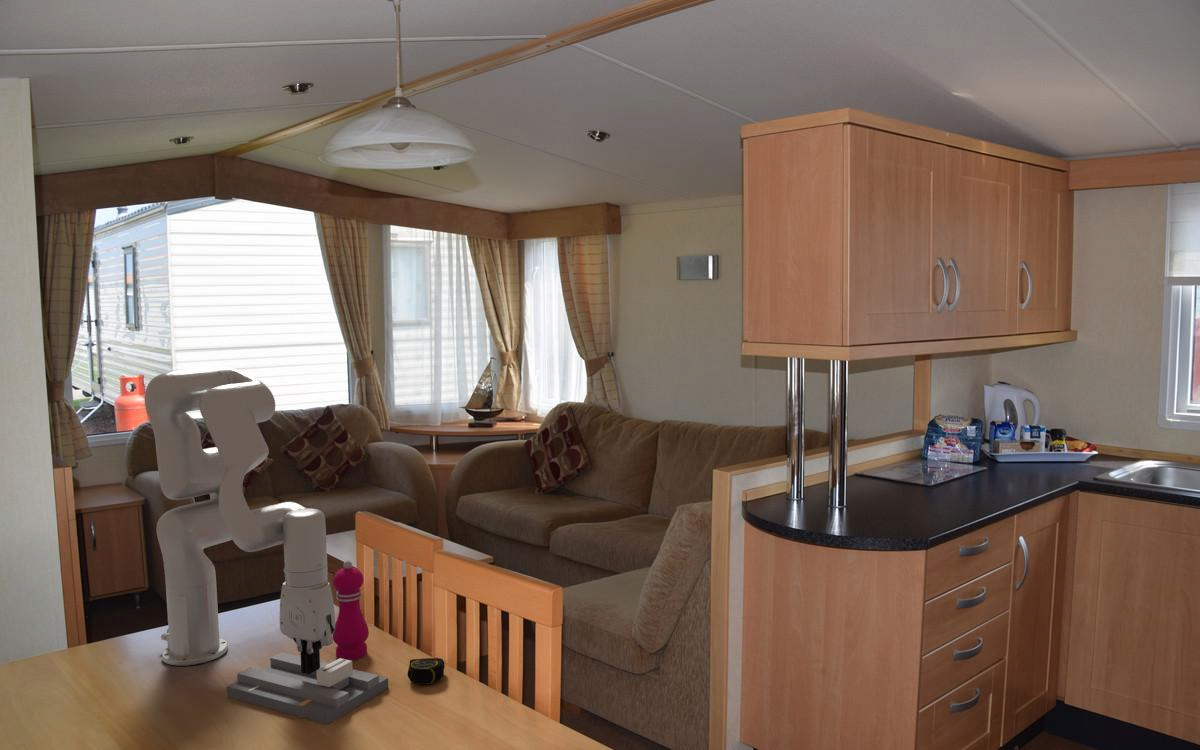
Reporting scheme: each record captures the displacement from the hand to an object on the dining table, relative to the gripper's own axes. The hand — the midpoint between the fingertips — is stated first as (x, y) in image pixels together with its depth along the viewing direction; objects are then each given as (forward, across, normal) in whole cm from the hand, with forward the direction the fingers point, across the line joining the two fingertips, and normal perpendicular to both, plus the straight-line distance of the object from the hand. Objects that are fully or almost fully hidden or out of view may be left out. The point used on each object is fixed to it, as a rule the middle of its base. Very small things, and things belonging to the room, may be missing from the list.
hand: (310, 670), depth 170 cm
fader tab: (+2, +6, 0) cm, 6 cm away
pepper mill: (+5, -6, +17) cm, 19 cm away
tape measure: (+5, +15, +14) cm, 21 cm away
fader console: (+4, -1, 0) cm, 4 cm away
